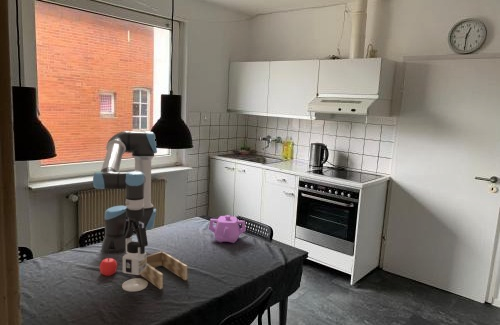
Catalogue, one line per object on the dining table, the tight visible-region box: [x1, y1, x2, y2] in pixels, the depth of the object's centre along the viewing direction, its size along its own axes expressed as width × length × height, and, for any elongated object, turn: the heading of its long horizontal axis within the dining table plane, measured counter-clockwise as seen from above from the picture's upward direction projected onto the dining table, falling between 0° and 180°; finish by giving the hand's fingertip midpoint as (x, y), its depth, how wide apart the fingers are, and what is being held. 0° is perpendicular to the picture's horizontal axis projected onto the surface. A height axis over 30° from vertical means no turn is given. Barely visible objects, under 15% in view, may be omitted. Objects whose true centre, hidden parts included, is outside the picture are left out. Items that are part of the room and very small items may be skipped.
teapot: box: [208, 214, 246, 244], centre depth 228 cm, size 19×18×15 cm
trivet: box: [121, 277, 149, 293], centre depth 170 cm, size 11×11×1 cm
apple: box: [99, 257, 118, 277], centre depth 179 cm, size 8×8×8 cm
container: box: [122, 240, 147, 276], centre depth 167 cm, size 8×8×13 cm
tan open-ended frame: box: [139, 250, 188, 290], centre depth 180 cm, size 21×14×7 cm
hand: (134, 255), depth 167 cm, fingers closed on container, 10 cm apart
